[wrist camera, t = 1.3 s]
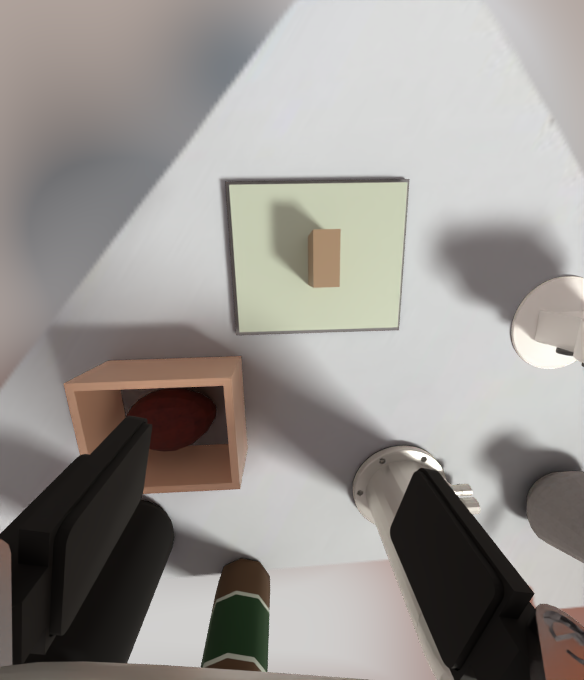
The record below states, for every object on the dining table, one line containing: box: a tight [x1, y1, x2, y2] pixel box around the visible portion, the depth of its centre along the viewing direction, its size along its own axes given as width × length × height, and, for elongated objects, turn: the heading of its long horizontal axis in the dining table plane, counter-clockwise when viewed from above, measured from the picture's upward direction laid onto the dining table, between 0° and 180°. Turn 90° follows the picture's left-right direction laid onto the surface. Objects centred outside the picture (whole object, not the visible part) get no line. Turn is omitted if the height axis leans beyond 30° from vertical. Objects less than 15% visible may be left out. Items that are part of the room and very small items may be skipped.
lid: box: [229, 182, 408, 332], centre depth 28 cm, size 18×15×6 cm
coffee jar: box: [23, 500, 174, 664], centre depth 30 cm, size 11×11×18 cm
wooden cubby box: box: [64, 356, 248, 494], centre depth 31 cm, size 16×13×7 cm
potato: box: [126, 388, 217, 452], centre depth 32 cm, size 7×10×6 cm
